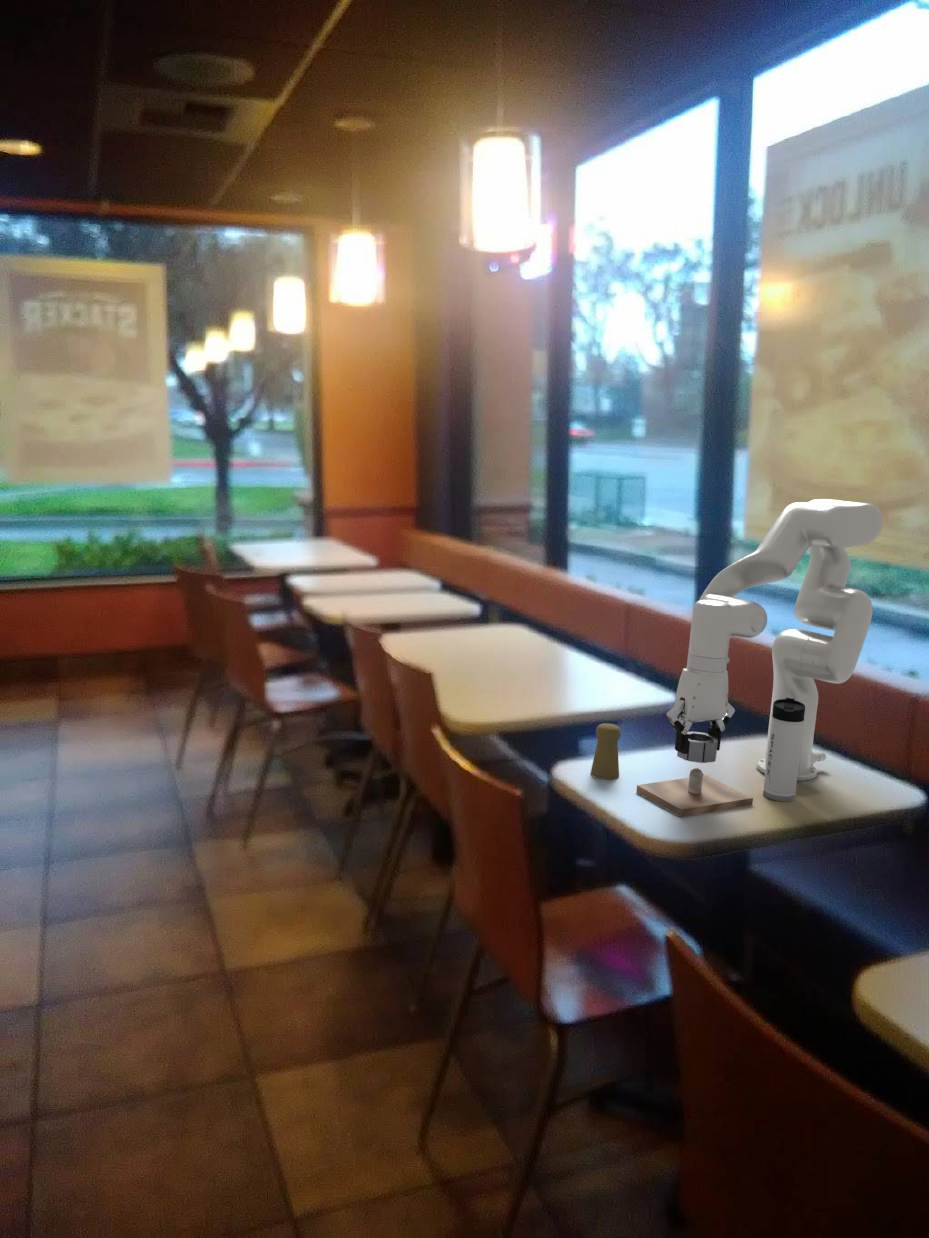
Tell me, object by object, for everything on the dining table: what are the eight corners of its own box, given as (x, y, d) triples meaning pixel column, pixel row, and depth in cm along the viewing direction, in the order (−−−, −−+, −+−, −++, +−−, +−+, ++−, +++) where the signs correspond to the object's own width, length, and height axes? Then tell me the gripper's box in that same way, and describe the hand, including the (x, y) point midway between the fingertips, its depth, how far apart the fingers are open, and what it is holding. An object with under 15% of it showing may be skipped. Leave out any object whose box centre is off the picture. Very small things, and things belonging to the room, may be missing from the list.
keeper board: (705, 781, 215) (708, 753, 214) (752, 804, 203) (755, 774, 202) (636, 792, 207) (639, 762, 206) (681, 817, 195) (684, 785, 194)
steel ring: (699, 749, 208) (700, 730, 207) (723, 760, 202) (725, 740, 201) (670, 752, 205) (671, 733, 204) (694, 764, 198) (696, 744, 197)
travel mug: (795, 793, 211) (806, 699, 207) (794, 803, 205) (805, 707, 201) (763, 788, 213) (774, 695, 209) (762, 798, 207) (772, 703, 203)
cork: (618, 781, 213) (622, 730, 211) (589, 777, 214) (593, 727, 212) (620, 771, 219) (624, 722, 217) (591, 768, 220) (595, 719, 218)
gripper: (727, 657, 207) (717, 741, 210) (659, 661, 199) (650, 748, 202) (754, 665, 201) (743, 752, 204) (684, 669, 193) (674, 759, 196)
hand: (697, 749), depth 203 cm, fingers closed on steel ring, 7 cm apart
